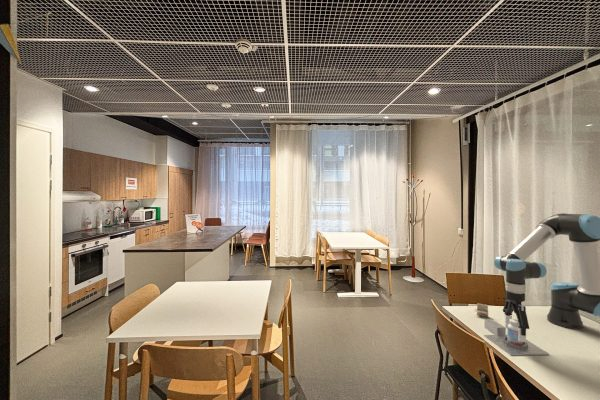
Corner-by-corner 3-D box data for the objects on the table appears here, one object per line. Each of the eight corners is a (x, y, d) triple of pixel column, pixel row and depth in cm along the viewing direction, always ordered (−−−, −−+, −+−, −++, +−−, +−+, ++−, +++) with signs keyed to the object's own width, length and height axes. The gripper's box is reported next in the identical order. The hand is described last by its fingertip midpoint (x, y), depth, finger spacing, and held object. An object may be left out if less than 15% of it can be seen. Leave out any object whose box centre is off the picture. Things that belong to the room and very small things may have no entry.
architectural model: (488, 319, 169) (488, 307, 169) (474, 316, 173) (474, 304, 173) (488, 317, 172) (488, 305, 172) (474, 314, 176) (474, 302, 175)
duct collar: (504, 327, 158) (504, 319, 158) (549, 355, 130) (549, 345, 130) (472, 327, 157) (472, 319, 157) (510, 355, 129) (510, 345, 129)
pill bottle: (511, 346, 136) (511, 323, 136) (504, 340, 142) (505, 317, 142) (525, 347, 135) (526, 324, 135) (518, 341, 141) (518, 318, 141)
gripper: (495, 283, 151) (495, 322, 151) (519, 299, 127) (519, 346, 127) (511, 284, 149) (511, 324, 150) (539, 301, 125) (538, 348, 125)
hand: (514, 334), depth 138 cm, fingers open, 13 cm apart
